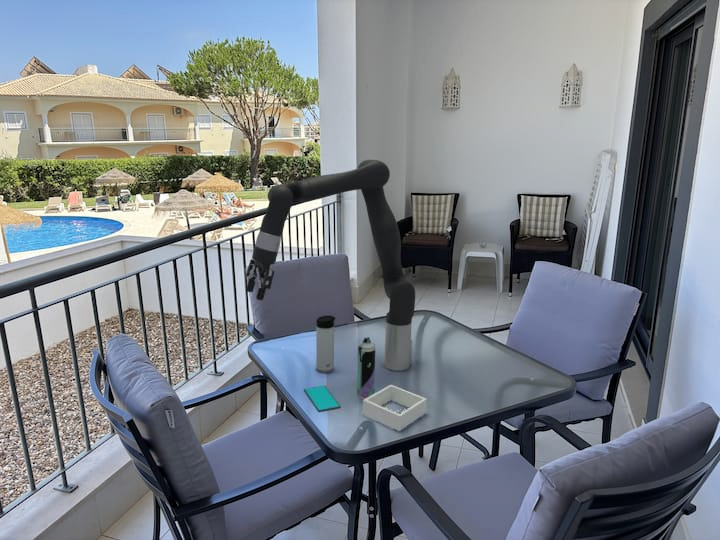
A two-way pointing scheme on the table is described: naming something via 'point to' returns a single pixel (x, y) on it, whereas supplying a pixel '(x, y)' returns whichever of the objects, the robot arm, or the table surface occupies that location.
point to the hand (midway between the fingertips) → (254, 295)
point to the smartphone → (322, 398)
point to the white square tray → (388, 417)
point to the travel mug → (325, 344)
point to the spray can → (366, 369)
